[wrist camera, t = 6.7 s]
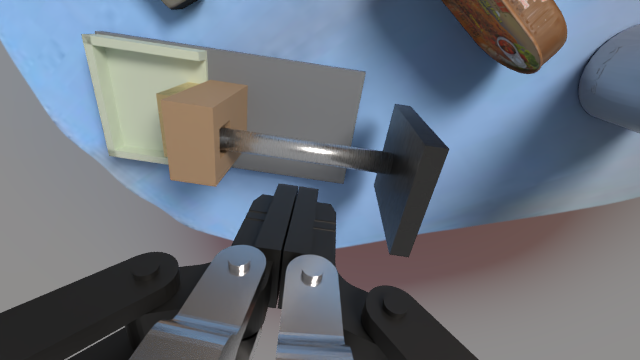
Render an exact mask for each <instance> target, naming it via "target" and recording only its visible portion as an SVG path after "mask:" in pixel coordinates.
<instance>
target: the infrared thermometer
mask: <svg viewBox="0 0 640 360" xmlns="http://www.w3.org/2000/svg"><path fill="white" fill-rule="evenodd" d="M161 1H162V2H163V3H164V4H165V5H166V6H167V7H168V8H170V9H172V10H177V9H183V8H185V7H187V6H189V5H190V4H192V3H194V2H195V1H197V0H161Z"/></svg>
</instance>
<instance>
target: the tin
mask: <svg viewBox="0 0 640 360" xmlns="http://www.w3.org/2000/svg"><path fill="white" fill-rule="evenodd" d="M442 2H443V3H444V4H445V5H446V6H447V8H448V9H449V10H450V11H451V12H452V14H453V15H454V16H455V17H456V19H457V20H458V21H459V22H460V24H461V25H462V26H463V27H464V29H465V30H466V31H467V32H468V33H469V35H470V36H471V37H472V38H473V39H474V41H475V42H476V43H477V44H478V45H479V46H480V47H481V48H482V49H483V50H484V51H485V52H486V53H487V54H488V55H489V56H491V57H492V58H493V59H494V60H496V61H497V62H499V63H500V64H502V65H504V66H506V67H507V68H509V69H512V70H514V71H517V72H519V73H524V74H532V73H535V72H537V71H538V70H539V69H540V68H541V66H542V65H543V64H544V63H545V62H547V61H548V60H549V59H550V58H551V57H552V56H553V55H555V54H556V53H557V52H558V51H559V50H560V49H561V47H562V46H563V45H564V43H565V41H566V38H567V26H566V22H565V20H564V17H563V15H562V13H561V11H560V9H559V8H558V7H557V5H556V3H555V2H554V0H442Z"/></svg>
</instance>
